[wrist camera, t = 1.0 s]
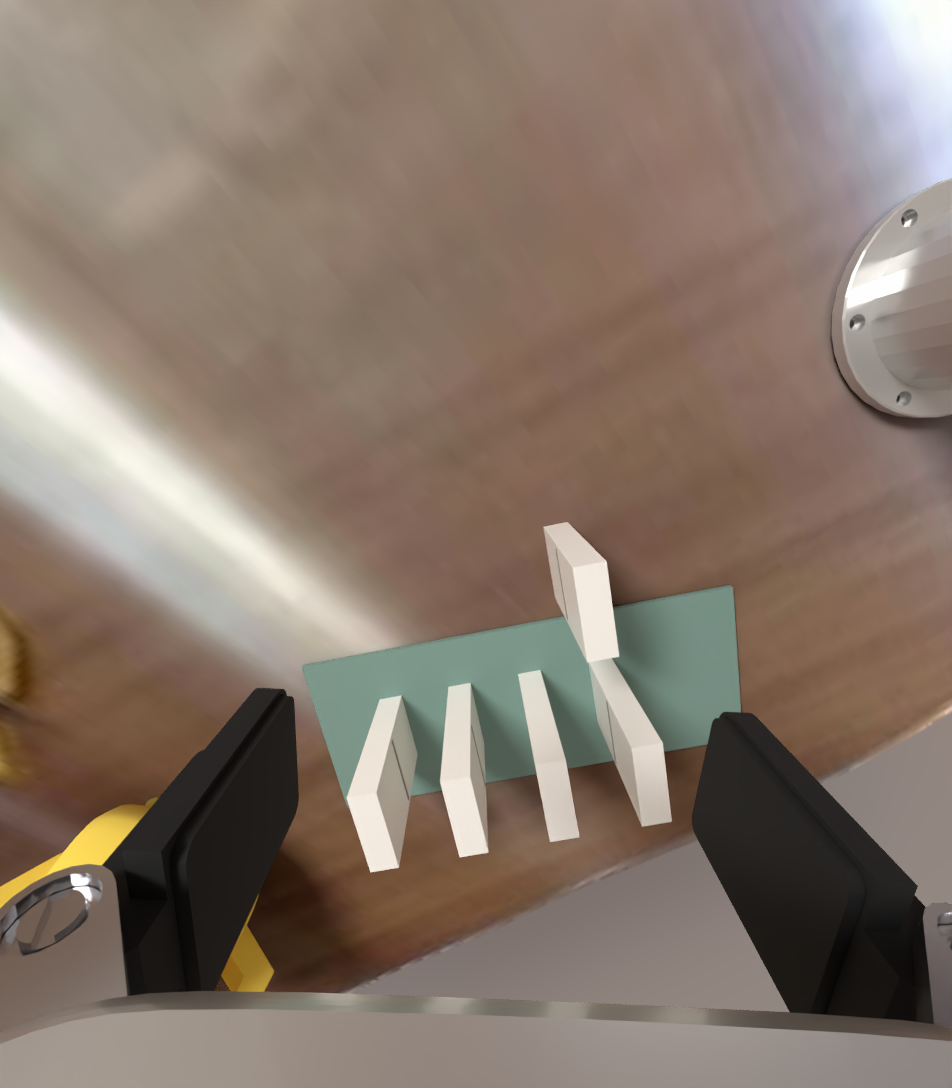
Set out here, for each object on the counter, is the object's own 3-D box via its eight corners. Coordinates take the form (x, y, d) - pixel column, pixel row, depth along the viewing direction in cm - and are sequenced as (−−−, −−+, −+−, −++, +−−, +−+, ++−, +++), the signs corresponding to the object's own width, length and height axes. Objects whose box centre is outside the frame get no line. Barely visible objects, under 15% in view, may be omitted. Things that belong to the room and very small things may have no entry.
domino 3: (540, 669, 32) (566, 759, 24) (551, 730, 34) (579, 836, 25) (517, 674, 32) (534, 765, 24) (529, 734, 34) (549, 842, 25)
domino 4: (567, 522, 30) (607, 561, 22) (578, 592, 31) (619, 656, 23) (542, 526, 30) (571, 567, 22) (554, 597, 32) (586, 662, 23)
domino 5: (611, 656, 32) (663, 742, 23) (619, 718, 33) (672, 821, 25) (587, 661, 32) (631, 748, 24) (597, 722, 33) (641, 826, 25)
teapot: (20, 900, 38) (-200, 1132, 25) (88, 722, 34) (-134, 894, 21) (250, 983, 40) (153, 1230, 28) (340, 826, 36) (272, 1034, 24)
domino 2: (470, 682, 33) (470, 776, 24) (484, 742, 34) (488, 852, 25) (447, 686, 33) (439, 782, 24) (462, 746, 34) (459, 857, 25)
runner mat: (729, 585, 31) (733, 587, 31) (739, 734, 34) (742, 738, 34) (303, 665, 33) (301, 667, 32) (348, 803, 36) (347, 807, 35)
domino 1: (402, 695, 33) (376, 792, 24) (417, 754, 34) (399, 867, 25) (379, 699, 33) (345, 798, 24) (395, 758, 34) (370, 872, 25)
